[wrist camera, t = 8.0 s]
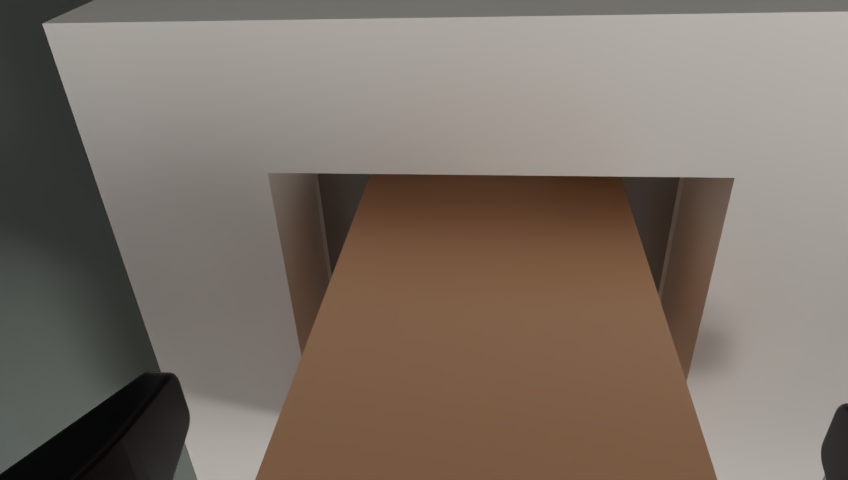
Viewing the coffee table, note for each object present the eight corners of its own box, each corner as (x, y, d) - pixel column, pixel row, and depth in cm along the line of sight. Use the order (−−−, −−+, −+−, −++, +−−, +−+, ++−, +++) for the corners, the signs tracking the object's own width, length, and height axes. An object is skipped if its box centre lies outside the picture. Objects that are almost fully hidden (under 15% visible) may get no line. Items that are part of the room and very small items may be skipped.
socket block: (886, -43, 9) (1066, 23, 6) (736, 438, 15) (796, 598, 12) (152, -26, 11) (12, 36, 8) (259, 414, 16) (202, 553, 13)
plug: (619, 175, 10) (787, 700, 4) (596, 364, 13) (683, 895, 6) (370, 174, 11) (192, 646, 5) (387, 356, 13) (282, 846, 7)
